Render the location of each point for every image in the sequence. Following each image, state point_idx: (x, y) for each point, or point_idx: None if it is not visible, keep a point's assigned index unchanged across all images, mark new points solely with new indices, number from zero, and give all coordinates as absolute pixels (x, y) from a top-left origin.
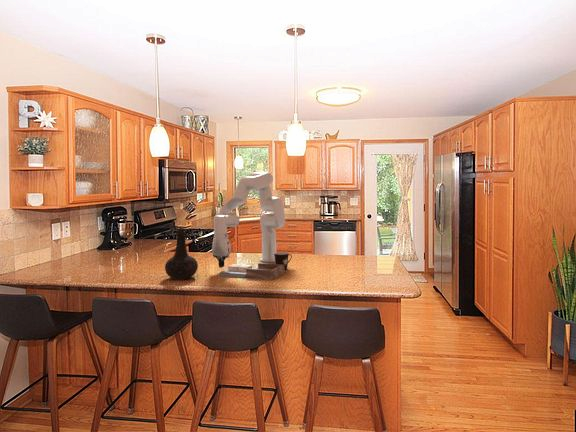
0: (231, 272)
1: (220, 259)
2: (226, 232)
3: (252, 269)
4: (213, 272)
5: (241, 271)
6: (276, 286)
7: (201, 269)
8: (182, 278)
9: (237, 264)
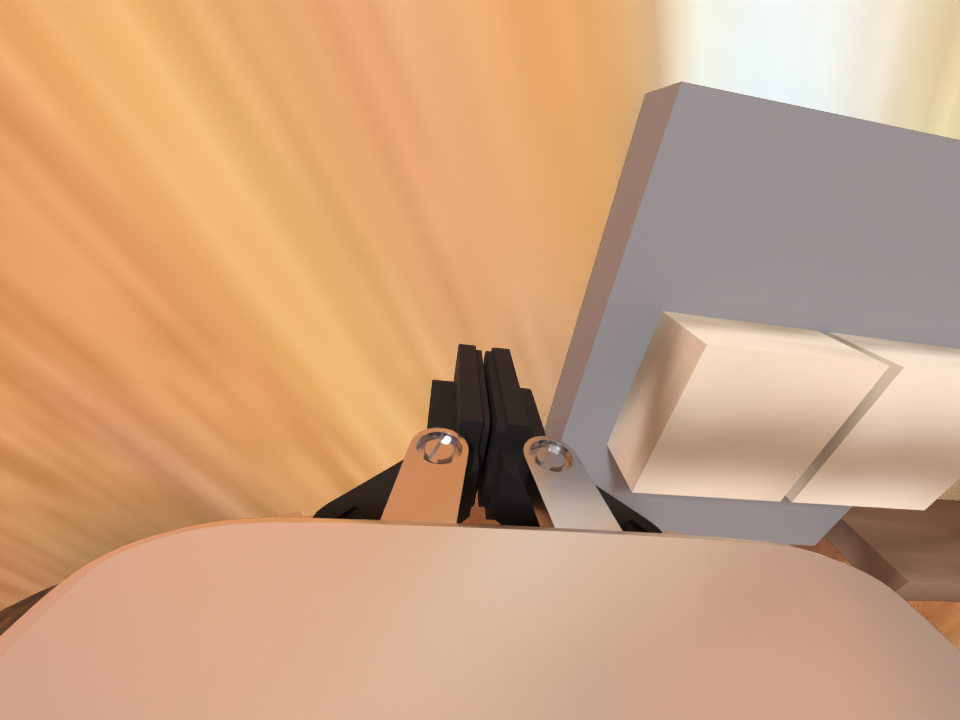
0: (665, 516)
1: (469, 505)
2: None
3: (949, 598)
4: (368, 380)
5: None
6: (955, 625)
7: (3, 211)
8: None
9: (802, 359)
